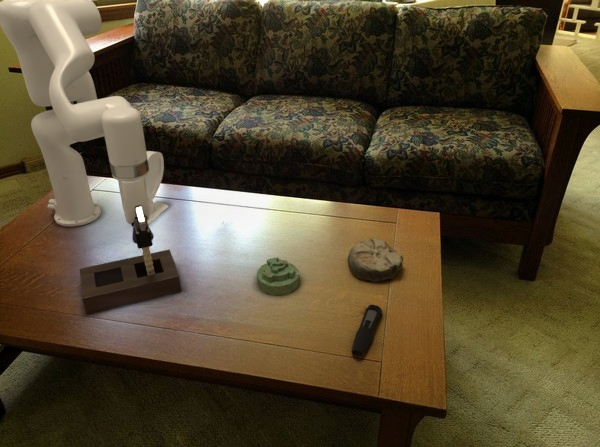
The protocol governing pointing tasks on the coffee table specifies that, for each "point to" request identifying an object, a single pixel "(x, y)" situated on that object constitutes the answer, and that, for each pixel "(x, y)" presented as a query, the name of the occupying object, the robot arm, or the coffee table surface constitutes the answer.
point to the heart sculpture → (154, 183)
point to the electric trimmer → (366, 330)
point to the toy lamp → (145, 254)
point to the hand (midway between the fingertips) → (141, 235)
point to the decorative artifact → (277, 277)
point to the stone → (374, 260)
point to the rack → (128, 282)
